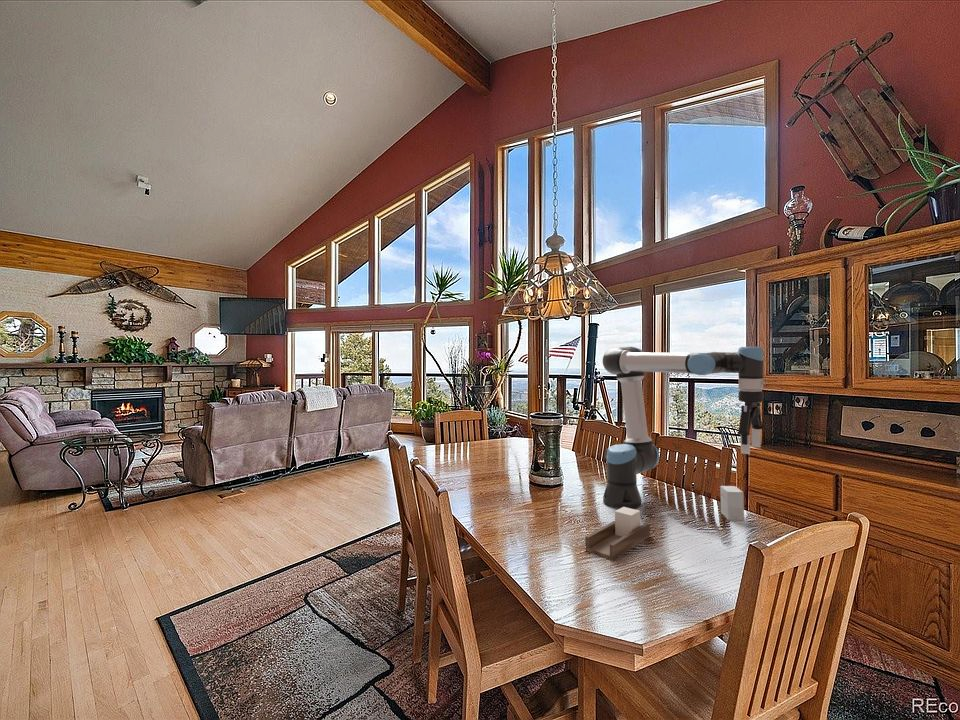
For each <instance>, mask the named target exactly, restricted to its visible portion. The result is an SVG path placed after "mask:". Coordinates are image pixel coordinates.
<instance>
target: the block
mask: <svg viewBox="0 0 960 720" xmlns="http://www.w3.org/2000/svg"><path fill="white" fill-rule="evenodd" d="M614 521H615V535H618V536H621V537H623V536H624V535H626V534H628V533H629V532H631V531H633V530H634V529H636V528H638V527H639V526H641V510H639V509H636V508H634V509H631V508H627V507H622V508H620V509H619V508H617V510H614Z"/></svg>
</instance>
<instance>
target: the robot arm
mask: <svg viewBox="0 0 960 720" xmlns="http://www.w3.org/2000/svg"><path fill="white" fill-rule="evenodd" d="M764 360H765V359H764V351H763V348H762V347H761V346H740V347H739V348H738V350H737V352H736V351H735V352H725V351H724V352H722V351H720V352H717V351H712V352H644V350H643V349H641V348H639V347H636V346H635V347H634V346H623V347H622V346H621V347H618V346H617V347H611V348H609V349H607V351H605V353H604V355H603V357H602V366H603V368H604V369H605V370H606V371H607V372H608V373H609V374H612V375H616V380H618V382H620V386H621V396H622V403H623V411H624V420H625V429H626V437H625V439H624V440H623V443H620V444H614V445H611V446H609V447H608V448H607V449H606V457H605V459H606V478H607V479H606V480H607V481H606V482H607V483H606V487H605V489H604V492H603V495H602V501H603V502H602V503H604V504H605V506H607V507H611V508H614V509H620V508H622V507H627V508H631V509H637V508H640V507H641V506H643V504H642V502H643V501H642V497H641V494H640V492H639V488H638V484H637V483H638V482H637V481H638V479H637V475H638V474H642V473H644V472H645V473H646V472H648V471H652V470H653V469H655V467H657V465H658V464H659V461H660V452H659V450H658V448H657V447H656V445H655V444H654V443H653V439H652V438H651V437H650V436H649V434H648V433H649V432H648V426H647V415H646V408H645V399H644V392H643V383H642V381H643V379H644V378H645V373H646V372H647V373H667V374H669V373H670V374H690V375H691V374H692V375H697V376H706V375H711V374H721V373H723V374H738V384H737V385H738V390H739V391H738V402H742V403H744V405H741V407H740V408H741V411H740V412H741V413H740V418H739V419H740V420H739V426H738V430H737V435H740V454H745V455H751V447H752V448H760V449H761V446H762V445H761V443H762V442H761V440H762V439H761V435H762V433H761V430H763V429H764V426H763V421H762V420H763V419H762V414H761V413H762V412H761V403H762V402H764V392H763V390H764V385H765V384H766V381H764ZM750 431H751V435H750Z"/></svg>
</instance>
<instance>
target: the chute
mask: <svg viewBox="0 0 960 720" xmlns="http://www.w3.org/2000/svg"><path fill="white" fill-rule="evenodd" d="M650 537H651V523H649V522H645V523H643V524H640V526H639V527H638V528H636V529H634V530H633V531H631V532H629V533H628V534H626V535H624V536H623V537H621V536H618V535H615V520H613V521H611V522H610V523H608V524H605V525H604V526H602V527H600V528H598V529H597V530H595V531H593V532H591V533H589V534H588V535H586V536H585V538H584V540H585V542H584V543H585V552H589V553H591V554H595V555H598V556H601V557H603V558H606V559H609V560H612V561H615V560H616V559H618V558H619V557H621V556H623V555H624V554H626V553H627V552H628V551H630V550H632V549H633V548H634V547H637V546H638V545H639V544H641V543H643V542H644V541H645V540H646V539H648V538H650Z"/></svg>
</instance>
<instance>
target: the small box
mask: <svg viewBox="0 0 960 720" xmlns="http://www.w3.org/2000/svg"><path fill="white" fill-rule="evenodd" d="M719 487H720V489H719V490H720V491H719V492H720V513H721V514H722V515H723V516H724V517H725V518H726V519H727V521H745V505H744V504H745V503H744V501H745V499H744V497H745V496H744V492H743V490H741V489H740V488H739V487H737V486H736V485H735V486H734V485H720V486H719Z"/></svg>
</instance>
